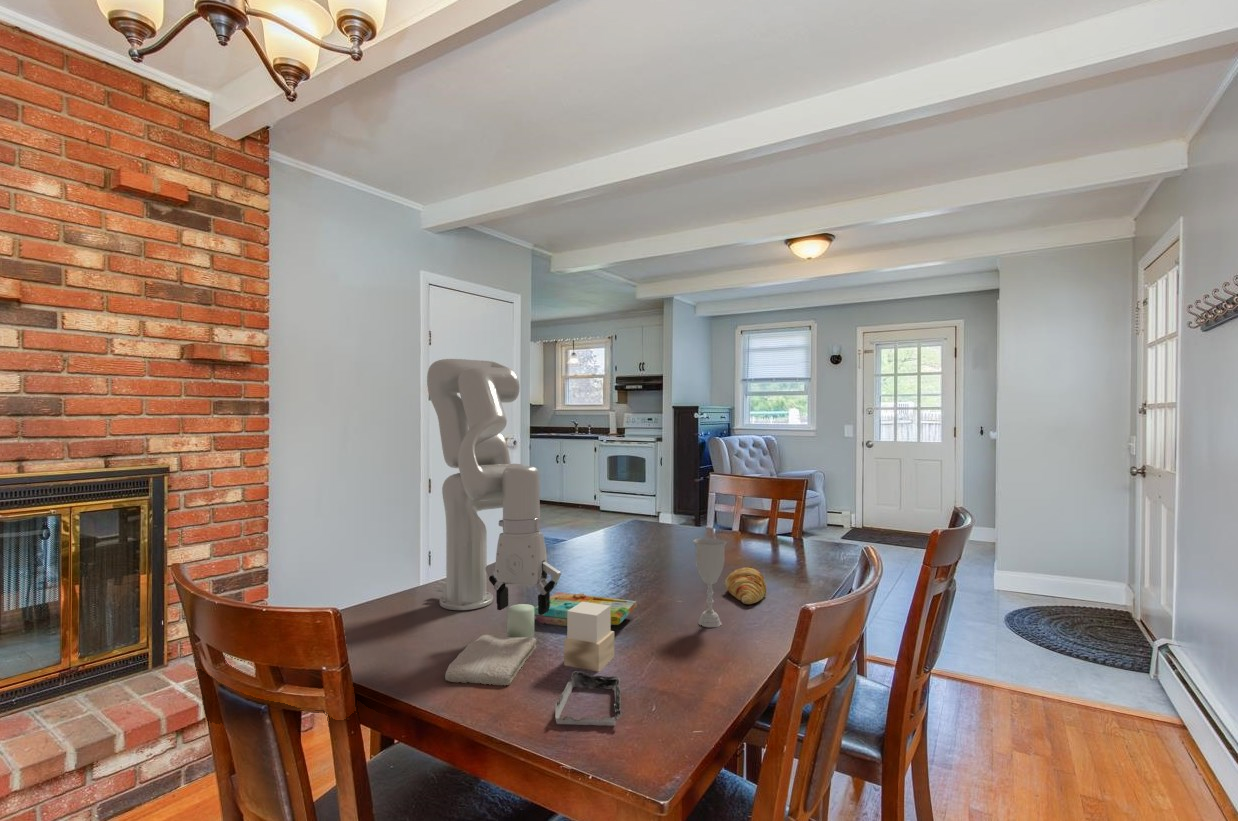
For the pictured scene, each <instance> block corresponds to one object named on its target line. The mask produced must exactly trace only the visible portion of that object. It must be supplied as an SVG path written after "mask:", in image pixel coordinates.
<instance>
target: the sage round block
mask: <svg viewBox="0 0 1238 821" xmlns="http://www.w3.org/2000/svg"><path fill="white" fill-rule="evenodd" d="M534 608H535V606H534V605H532V604H527V603H519V604H517V603H516V604H513V605H510V606H507V607H506V610H507V611H506V612H507V615H506V617H507V618H506V620H507V621H506V624H507V625H506V627H507V628H506V629H507V630H506V631H507V632H506V635H507V637H512V638H515V637H533V638H535V615H534Z"/></svg>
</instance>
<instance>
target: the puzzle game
mask: <svg viewBox="0 0 1238 821" xmlns="http://www.w3.org/2000/svg"><path fill="white" fill-rule="evenodd" d="M581 602H589V603H596V604H603V605H610V606H611V626H619V625H620V624H621V623H622V622H623V621H624V620H625V619H626V618H627V617H628V616H629V615H630V614H631V613H632V612H633V610H634V609H635V608H636V607H637V601H636V600H627V599H619V598H611V597H603V596H597V595H596V596H593V595H586V594H584V593H578V594H576V593H570V592H562V591H559V592H555V593H554V594H552V595H551V596H550V608H549V611H548V612H546V613H544V614H543V615H539V614H538V605H536V606H534V618H536V619H537V621H538V622H539V623H540V624H544V623H546V625H553V626H554V625H555V626H560V627H562V626H563V627H567V611H568V610H570V609H571V608H573V607H574V606H576V605H578V604H579V603H581Z"/></svg>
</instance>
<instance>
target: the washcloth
mask: <svg viewBox="0 0 1238 821" xmlns="http://www.w3.org/2000/svg"><path fill="white" fill-rule="evenodd" d="M536 643H537V639H536V637H534V638H533V637H515V638H512V637H507V636H506V635H501V634H483V635H481V636H479V637H478V638H477V639H476V640H474V641H470V642H469V643H468V645H467V646H466V647H464V649H463V650H462V651H461V652H459V654H458V655H457V657H456V658H454V659H453V661H452V662H451V663H449V665H448V667H447V669H446V671H445V674H444V678H445V681H448V682H451V683H459V682H461V683H463V684H467V682H469V683H471V684H480V683H481V684H482V685H483V684H484V685H486V684H489V686H501V687H502V686H503V685H504V686H506V685H507V686H510V685H511V683H512V682H514V681H513V680H515V678H516V677H517V675H518V673H519V672H520V671H521V670H522V668H523V667H524V665H525V664H526V662H527V661H528V660H527V659H529V658H530V657H531V656H532V654H533V653H534V652H535V650H536V649H537V645H536ZM529 656H530V657H529ZM526 660H527V661H526ZM525 661H526V662H525ZM521 667H522V668H521ZM520 669H521V670H520ZM519 670H520V671H519ZM491 684H492V685H491Z"/></svg>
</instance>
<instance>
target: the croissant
mask: <svg viewBox="0 0 1238 821" xmlns="http://www.w3.org/2000/svg"><path fill="white" fill-rule="evenodd" d="M724 584H725V588H726V589H727V591H728V592H729V594H731V596H733V597H734V598H736V599H737V600H739V601H740V602H742V603H743V605H753V604H756V603H757V602H760V601H761V600H762V599H764V598H765V597H766V596H767V584H766V581H765V577H764V576H763V575H762V573H761V572H760V571H759V570H757V569H755V568H753V567H752V566H748V567H747V566H745V567H741V568H736V569H735V570H733V571H732V572H730V573H729V574H728V575H727V577H726V579H725V581H724Z"/></svg>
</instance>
